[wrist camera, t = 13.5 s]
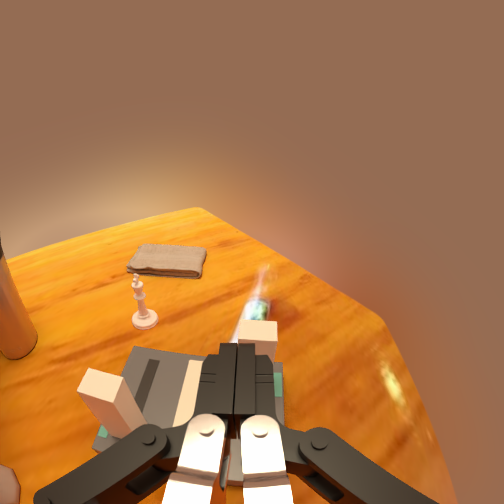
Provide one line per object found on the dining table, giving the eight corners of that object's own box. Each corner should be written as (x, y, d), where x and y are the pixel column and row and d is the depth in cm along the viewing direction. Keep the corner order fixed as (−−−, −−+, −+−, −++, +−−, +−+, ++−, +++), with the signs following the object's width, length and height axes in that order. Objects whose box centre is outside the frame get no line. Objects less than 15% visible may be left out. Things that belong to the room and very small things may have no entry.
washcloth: (141, 251, 70) (139, 240, 68) (207, 254, 70) (207, 243, 69) (125, 276, 59) (122, 264, 58) (201, 281, 60) (200, 269, 58)
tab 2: (268, 392, 32) (277, 341, 28) (236, 390, 32) (238, 338, 28) (268, 374, 35) (276, 321, 30) (238, 372, 35) (240, 319, 30)
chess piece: (161, 312, 49) (153, 267, 44) (154, 331, 45) (144, 284, 40) (136, 310, 49) (127, 265, 44) (128, 328, 45) (116, 281, 40)
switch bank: (280, 487, 23) (285, 481, 21) (101, 456, 23) (91, 447, 22) (279, 374, 39) (282, 361, 37) (138, 358, 39) (133, 345, 38)
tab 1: (141, 444, 24) (112, 402, 19) (110, 435, 24) (76, 391, 19) (147, 424, 26) (123, 377, 22) (117, 416, 27) (88, 367, 22)
